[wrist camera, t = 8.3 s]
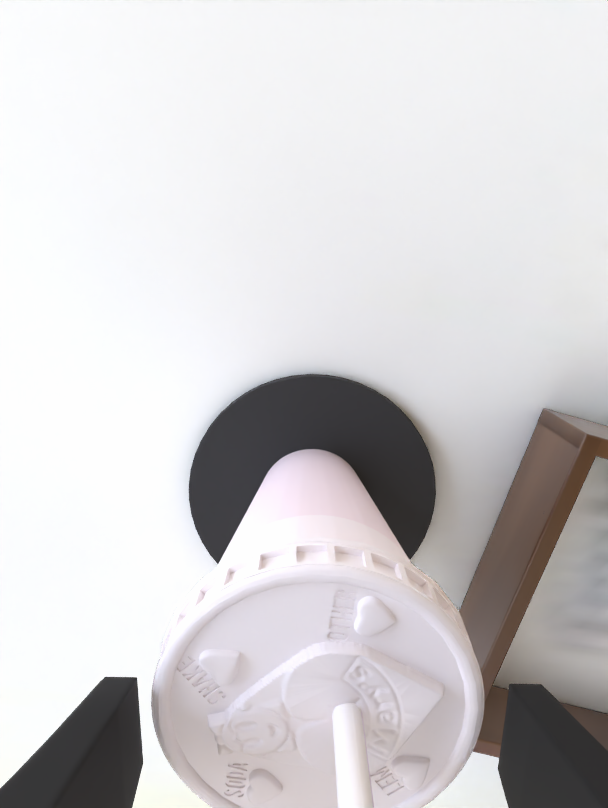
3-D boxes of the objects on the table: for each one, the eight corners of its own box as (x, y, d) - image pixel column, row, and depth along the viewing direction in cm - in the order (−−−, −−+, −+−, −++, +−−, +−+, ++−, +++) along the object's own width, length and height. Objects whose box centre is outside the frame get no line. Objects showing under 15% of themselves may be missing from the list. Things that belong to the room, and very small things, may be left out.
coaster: (483, 467, 19) (487, 471, 19) (336, 637, 21) (336, 644, 21) (283, 322, 18) (283, 323, 18) (145, 517, 20) (142, 522, 20)
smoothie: (414, 554, 20) (651, 1177, 6) (249, 590, 20) (139, 1249, 7) (378, 393, 18) (593, 759, 5) (201, 436, 19) (-75, 887, 5)
